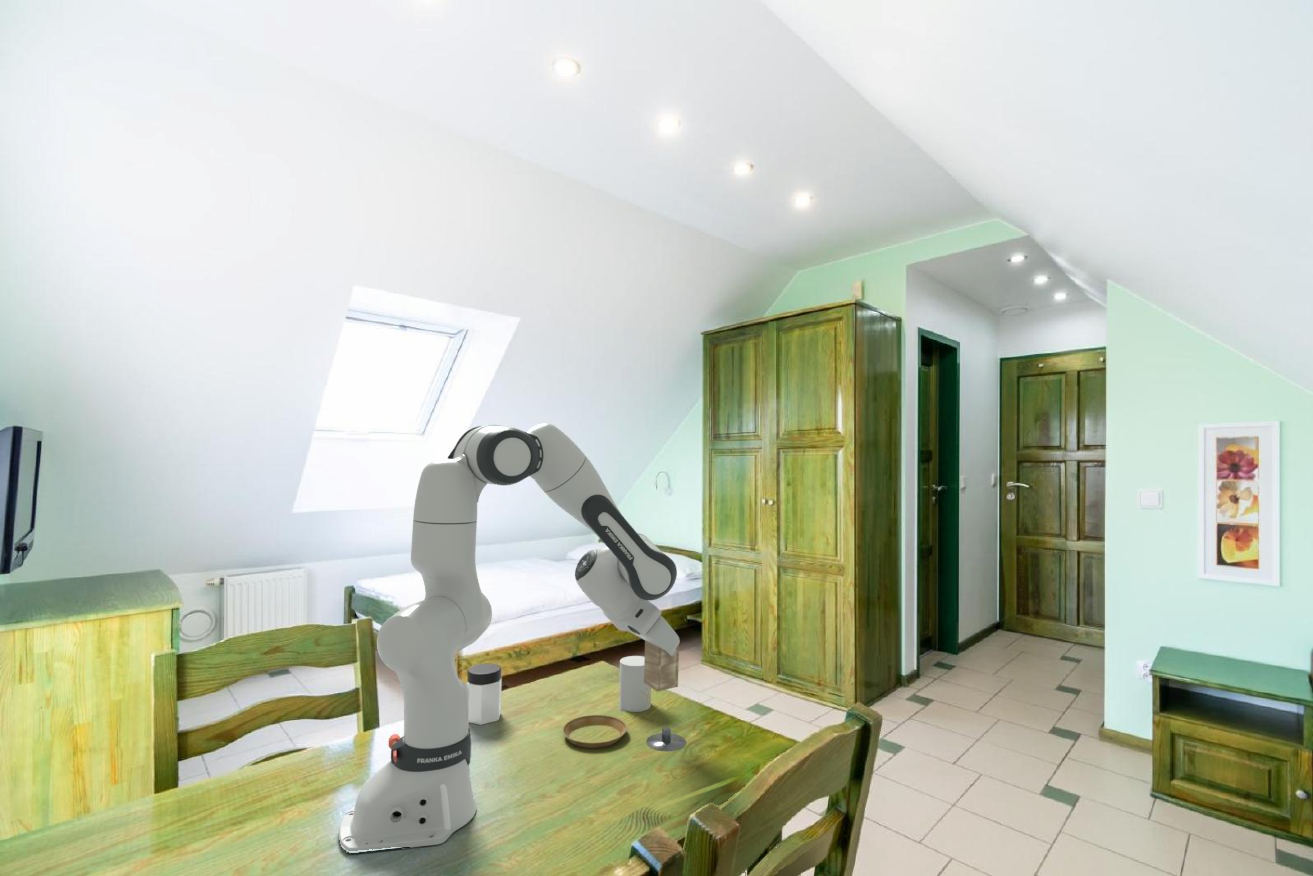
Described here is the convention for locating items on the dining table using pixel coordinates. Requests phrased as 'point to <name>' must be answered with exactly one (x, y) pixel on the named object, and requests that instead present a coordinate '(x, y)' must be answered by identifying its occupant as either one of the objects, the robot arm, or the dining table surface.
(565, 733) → the plant saucer
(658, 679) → the vase
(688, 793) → the dining table surface
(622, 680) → the white cylinder
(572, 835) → the dining table surface
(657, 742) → the metal lid
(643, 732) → the dining table surface
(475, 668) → the jar
